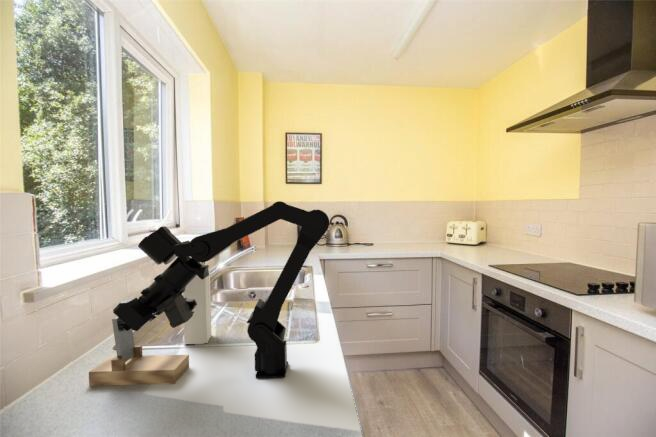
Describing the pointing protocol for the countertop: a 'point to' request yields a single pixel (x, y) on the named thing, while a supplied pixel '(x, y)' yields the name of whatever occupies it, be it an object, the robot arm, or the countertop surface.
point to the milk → (198, 312)
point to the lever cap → (123, 340)
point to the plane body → (139, 370)
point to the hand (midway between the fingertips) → (126, 329)
